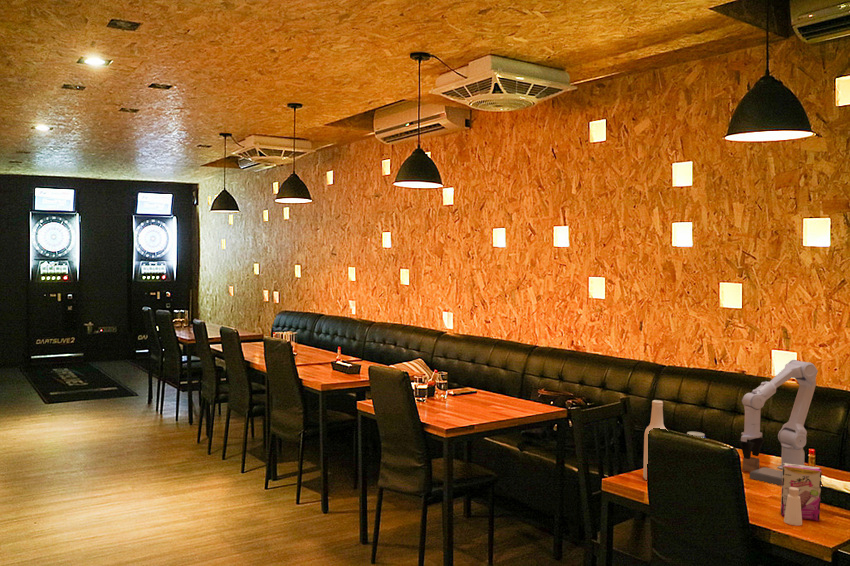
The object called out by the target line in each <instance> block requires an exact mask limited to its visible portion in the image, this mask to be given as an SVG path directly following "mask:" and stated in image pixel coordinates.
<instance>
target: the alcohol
mask: <svg viewBox="0 0 850 566" xmlns="http://www.w3.org/2000/svg"><path fill="white" fill-rule="evenodd" d="M663 407H664V402H663V400H657V399H654V400H652V401H651V413H650V423H649V424H648V426H646V428H645V431H644V435H643V438H644V439H643V475H642V477H643V479H644V480H645V481H646V480H647V464H648V434H649V431H650V430H651V429H653V428H660V429H666V430H667V431H668V429H667V428H666V427H665V424H664V410H663V409H664V408H663Z"/></svg>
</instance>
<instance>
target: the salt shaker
mask: <svg viewBox="0 0 850 566" xmlns="http://www.w3.org/2000/svg"><path fill="white" fill-rule="evenodd" d="M798 494H799V489H798V488H795V487H790V488H789V495H788V496H787V502H786V509H785V516H783V517H784V519H783V522H784V523H785V524H787V525H791V526H802V525H803V519H802V514H801V501H800V496H798Z"/></svg>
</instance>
